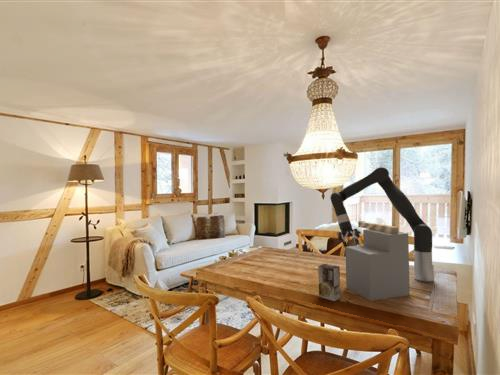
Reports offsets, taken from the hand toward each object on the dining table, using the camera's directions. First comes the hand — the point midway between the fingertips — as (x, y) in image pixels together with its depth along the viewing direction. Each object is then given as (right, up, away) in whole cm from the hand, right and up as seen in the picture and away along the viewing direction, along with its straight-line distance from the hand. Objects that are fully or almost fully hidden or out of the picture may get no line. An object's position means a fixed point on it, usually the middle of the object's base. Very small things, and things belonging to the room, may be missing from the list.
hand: (352, 246), depth 178 cm
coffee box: (-25, -19, -35) cm, 47 cm away
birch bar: (+7, +14, -20) cm, 25 cm away
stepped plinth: (+3, -18, -28) cm, 33 cm away
